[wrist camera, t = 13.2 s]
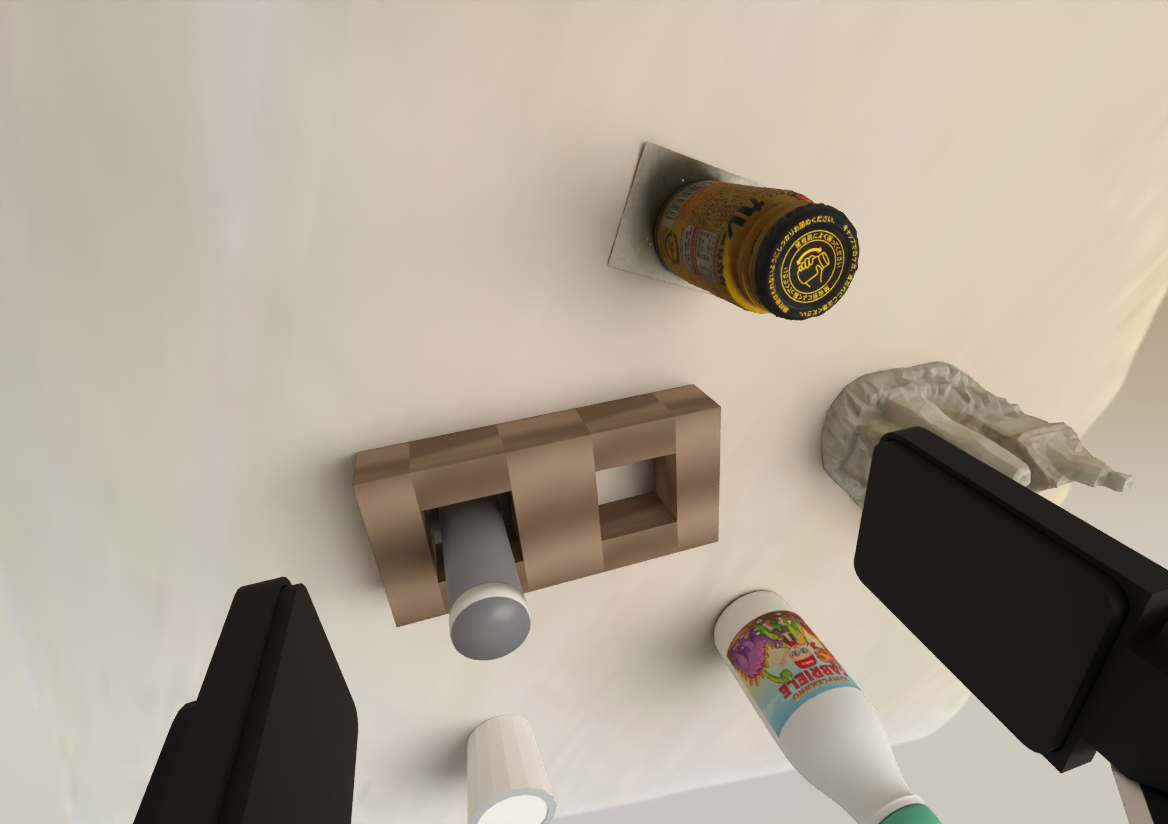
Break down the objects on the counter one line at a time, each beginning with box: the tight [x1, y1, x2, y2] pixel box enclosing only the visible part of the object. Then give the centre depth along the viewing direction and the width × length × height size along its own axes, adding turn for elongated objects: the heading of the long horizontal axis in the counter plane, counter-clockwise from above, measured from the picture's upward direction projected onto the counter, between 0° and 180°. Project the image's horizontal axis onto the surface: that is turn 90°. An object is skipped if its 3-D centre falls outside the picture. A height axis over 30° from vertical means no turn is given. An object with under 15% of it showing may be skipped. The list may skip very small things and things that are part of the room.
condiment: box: [608, 142, 859, 320], centre depth 31 cm, size 7×8×12 cm
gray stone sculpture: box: [821, 362, 1133, 509], centre depth 44 cm, size 16×16×15 cm
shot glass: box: [467, 715, 556, 824], centre depth 47 cm, size 7×7×7 cm
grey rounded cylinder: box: [439, 494, 531, 660], centre depth 35 cm, size 4×4×12 cm
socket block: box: [352, 385, 721, 627], centre depth 39 cm, size 11×23×4 cm, turn 95°
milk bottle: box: [714, 591, 941, 824], centre depth 44 cm, size 8×8×20 cm
